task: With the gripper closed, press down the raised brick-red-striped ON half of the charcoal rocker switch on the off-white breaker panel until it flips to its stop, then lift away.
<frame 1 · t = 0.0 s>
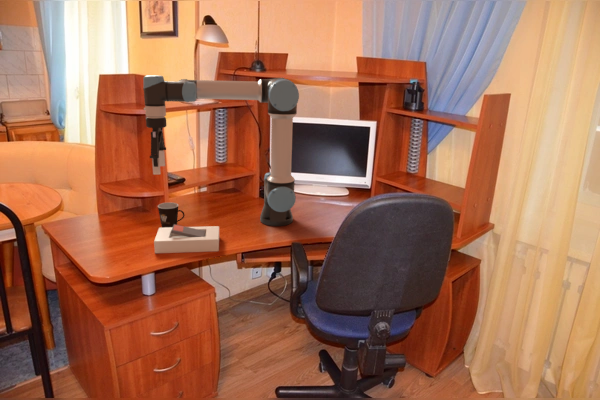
hand: (159, 170, 178), 28 cm above the table, fingers open, 13 cm apart
coffee mug: (171, 228, 194), on the table
breaker panel: (188, 244, 177), on the table
breaker rocker: (188, 231, 175), point 6 cm above the table, hinge at -15.0°
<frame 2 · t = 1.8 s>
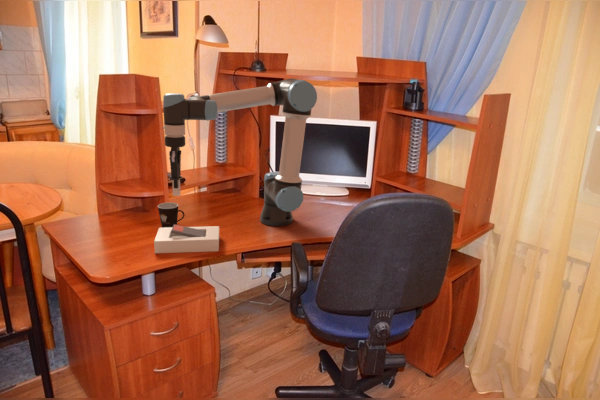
hand: (176, 195, 174), 20 cm above the table, fingers closed
nothing on the table moved.
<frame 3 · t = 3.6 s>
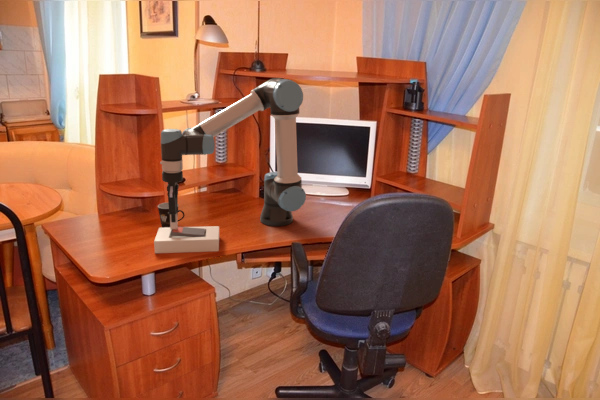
hand: (174, 228, 174), 7 cm above the table, fingers closed
breaker rocker: (188, 231, 175), point 6 cm above the table, hinge at -6.9°, touching gripper
everything else where it was.
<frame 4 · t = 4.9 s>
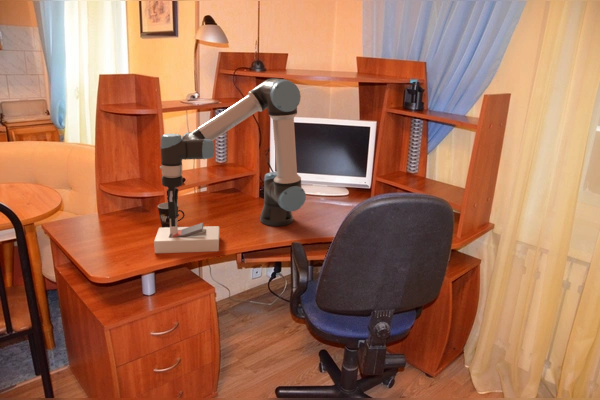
hand: (173, 232, 175), 5 cm above the table, fingers closed
breaker rocker: (187, 231, 175), point 6 cm above the table, hinge at 18.4°, touching gripper
everything else where it was.
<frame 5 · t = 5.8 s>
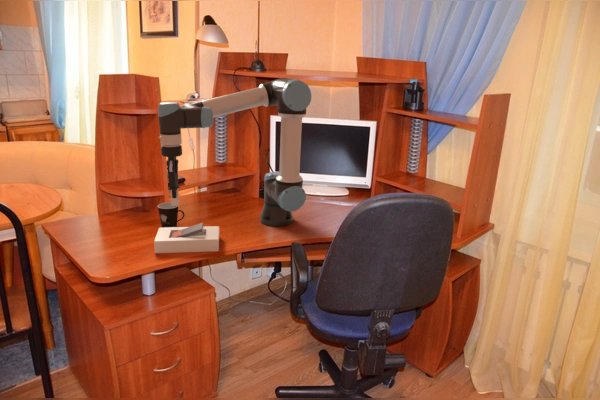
hand: (175, 205, 171), 17 cm above the table, fingers closed
breaker rocker: (187, 231, 175), point 6 cm above the table, hinge at 18.5°, touching breaker panel
everything else where it was.
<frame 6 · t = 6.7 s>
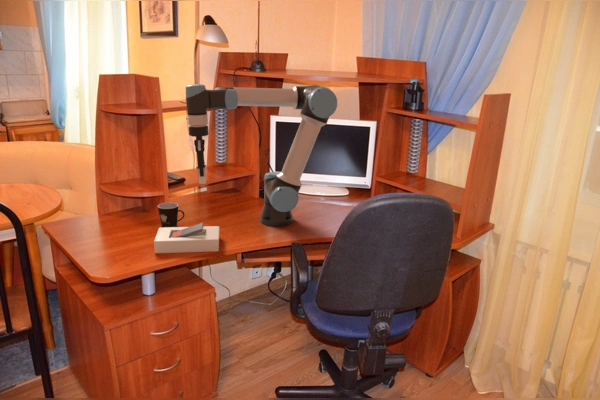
hand: (202, 183, 180), 23 cm above the table, fingers closed
nothing on the table moved.
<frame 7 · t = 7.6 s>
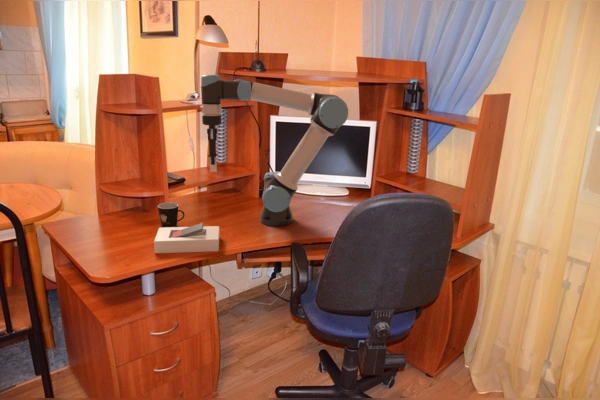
hand: (213, 171, 185), 26 cm above the table, fingers closed
nothing on the table moved.
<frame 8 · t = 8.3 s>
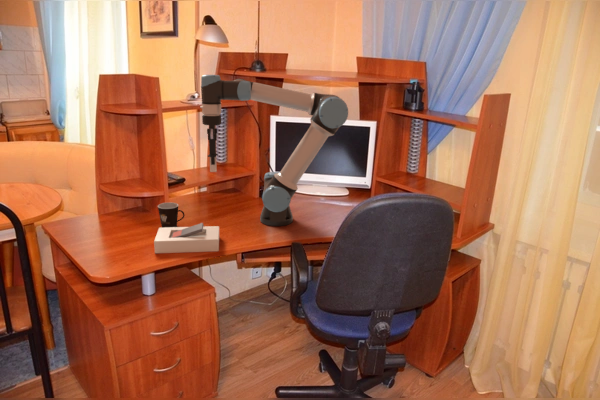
hand: (213, 171, 185), 26 cm above the table, fingers closed
nothing on the table moved.
at the end: breaker rocker at +18° (first picture: -15°) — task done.
